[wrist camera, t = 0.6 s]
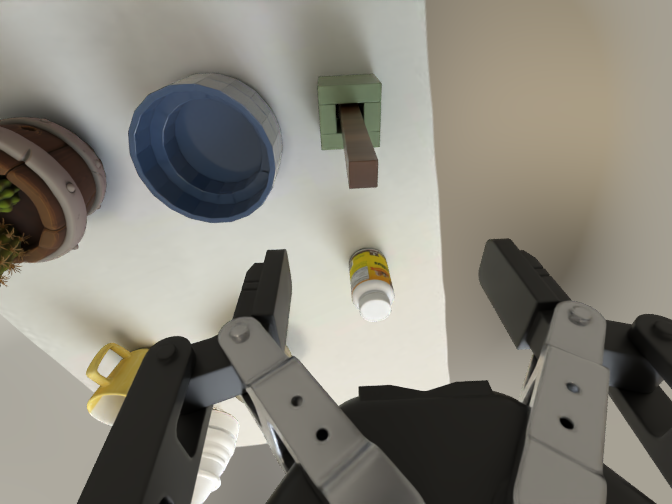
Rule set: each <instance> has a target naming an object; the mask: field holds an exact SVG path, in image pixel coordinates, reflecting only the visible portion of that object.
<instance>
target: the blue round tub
mask: <svg viewBox="0 0 672 504" xmlns="http://www.w3.org/2000/svg"><path fill="white" fill-rule="evenodd" d="M128 137H129V149H130V156H131V158H132V161H133V163H134V166H135V168H136V171H137V173H138V175H139V177H140V178H141V180H142V181H143V182H144V184H145V185H146V186H147V188H148V189H149V190H150V191H151V193H152V194H153V195H154V196H155V197H156V198H158V199H159V200H160V201H161V202H163V203H164V204H165V205H166V206H168V207H169V208H170V209H172V210H174V211H176V212H178V213H180V214H182V215H184V216H186V217H188V218H191V219H195V220H200V221H204V222H209V223H221V222H232V221H235V220H238V219H241V218H243V217H246V216H248V215H250V214H251V213H253V212H254V211H255V210H256V209H258V208H259V207H260V206H261V205H263V203H264V202H265V200H266V198H267V196H268V195H269V193H270V191H271V190H272V188H273V184H274V181H275V178H276V175H277V172H278V168H279V165H280V160H281V155H282V150H283V145H282V138H281V130H280V127H279V125H278V122H277V120H276V118H275V116H274V114H273V112H272V110H271V108H270V107H269V106H268V105H267V103H266V102H265V101H264V100H263V99H262V98H261V96H260V95H259V94H258V93H257V92H256V91H255V90H253V89H252V88H250V87H249V86H247V85H246V84H244V83H243V82H241V81H240V80H238V79H235V78H232V77H229V76H225V75H222V74H218V73H202V74H193V75H191V76H188V77H186V78H184V79H182V80H179V81H177V82H175V83H172V84H170V85H168V86H166V87H164V88H161V89H159V90H157V91H155V92H153V93H151V94H149V95H148V96H147V97H146V98H145V99H144V100H143V102H142V103H141V104H140V105H139V106H138V107H137V109H136V110H135V111H134V114H133V117H132V121H131V124H130V127H129V131H128Z"/></svg>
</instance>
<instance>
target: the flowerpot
mask: <svg viewBox="0 0 672 504" xmlns="http://www.w3.org/2000/svg"><path fill="white" fill-rule="evenodd" d="M105 192H106V175H105V172H104V168H103V165H102V162H101V160H100V159H98V158H97V156H96V155H95V153H94V150H93V149H92V148H91V147H90V146H89V145H88V144H87V143H85V142H83V141H82V140H81V139H80V138H79V137H78V136H77V135H76V134H74V133H73V132H71V131H70V130H68V129H66V128H64V127H62V126H60V125H58V124H56V123H53V122H50V121H48V120H47V119H44V118H43V119H40V118H27V117H20V118H7V119H3V120H0V278H1V277H2V278H1V279H5V278H4V277H5V276H6V275H5V276H4V277H3V276H2V274H3V272H4V271H5V270H10V271H11V272H12V269H13V270H14V271H15V270H16V269H18V268H16V269H14V268H15V267H21V266H16V265H14V264H15V263H22V262H25V263H37V262H45V261H49V260H53V259H56V258H58V257H61V256H63V255H65V254H66V253H68V252H69V251H71V250H72V249H73V250H75V249H78V243H79V242H80V240H81V239H82V237H83V235H84V232H85V229H86V224H87V216H88V215H90V214H92V213H93V212H94V211H95V210H96V209H100V207H101V205H100V204H101V203H102V201H103V198H104V195H105ZM12 263H13V264H12ZM18 265H19V264H18ZM11 268H12V269H11ZM19 270H20V269H19ZM10 271H8V272H9V274H10ZM16 271H17V270H16ZM21 271H22V270H21ZM18 272H19V271H18ZM15 273H16V272H15ZM9 274H8V275H9ZM11 275H12V273H11ZM6 278H7V277H6ZM10 278H11V277H10ZM8 279H9V278H8ZM5 280H6V279H5ZM1 282H2V284H4V282H8V281H2V280H0V283H1ZM4 285H5V284H4ZM0 286H1V285H0ZM5 286H7V285H5Z"/></svg>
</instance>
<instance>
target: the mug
mask: <svg viewBox="0 0 672 504" xmlns="http://www.w3.org/2000/svg"><path fill="white" fill-rule="evenodd" d="M109 349H111V350H113V351H114V352H116V353H117V354H118V355H120V356H121V357H122V358H123V359H122V360H121V361H120V362H119V364H118V365H117V366H116V367H115V369H114V370H113V371H112V372H111V373H110V375H109V376H108V377H107V378H105V377H103V376H102V375H100V374H99V373H98V371H97V369H98V366H99V364H100V362H101V360H102V359H103V357H104V355H105V354H106V352H107V351H108V350H109ZM148 350H149V349H148V348H142V349H138V350H135V351H132V352H129V351H128V350H126V349H124V348H123V347H121V346H119V345H118V344H115V343H109V344H107V345H105V346H104V347H102V349H101V350H100V351H99V352H98V353H97V354H96V356H95V357H94V359H93V360H92V362H91V363H90V365H89V367H88V369H87V372H86V375H87V377H88V378H90V379H91V380H93V381H94V382H96V383H97V384H99V385H100V387H99V388H98V389H97V390H96V392H95V393H94V394H93V396H92V397H91V398H90V400H89V401H88V403H87V409H88V412H89V413H90V414H91V415H92V416H93V417H94V418H95V419H97V420H98V421H100V422H102V423H105V424H108V425H111V426H113V424H114V421H115V419H116V417H117V415H118V413H119V410H120V408H121V406H122V404H123V402H124V400H125V397H126V395H127V393H128V391H129V389H130V386H131V384H132V382H133V380H134V378H135V375H136V373H137V371H138V369H139V367H140V365H141V362H142V360H143V358H144V356H145V354H146V353H147V351H148Z"/></svg>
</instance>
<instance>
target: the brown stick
mask: <svg viewBox="0 0 672 504" xmlns="http://www.w3.org/2000/svg"><path fill="white" fill-rule="evenodd" d="M339 116H340V123H341V131H342V138H343V146H344V153H345V161H346V168H347V176H348V183H349V189H354V188H374V187H377V182H378V159H377V156H376V153H375V151H374V148H373V145H372V142H371V139H370V137H369V134H368V131H367V128H366V126H365V123H364V120H363V117H362V114H361V112H360V109H359V106H358V103H344V104H339Z"/></svg>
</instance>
